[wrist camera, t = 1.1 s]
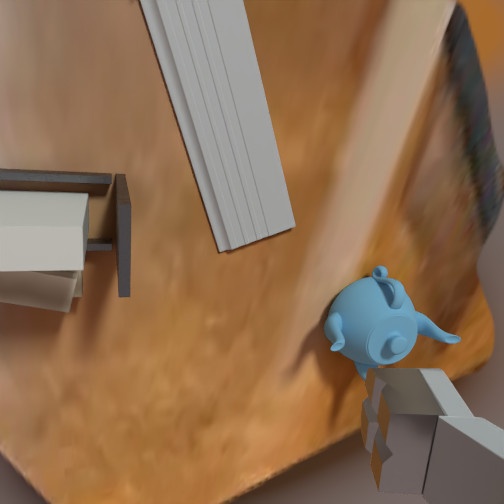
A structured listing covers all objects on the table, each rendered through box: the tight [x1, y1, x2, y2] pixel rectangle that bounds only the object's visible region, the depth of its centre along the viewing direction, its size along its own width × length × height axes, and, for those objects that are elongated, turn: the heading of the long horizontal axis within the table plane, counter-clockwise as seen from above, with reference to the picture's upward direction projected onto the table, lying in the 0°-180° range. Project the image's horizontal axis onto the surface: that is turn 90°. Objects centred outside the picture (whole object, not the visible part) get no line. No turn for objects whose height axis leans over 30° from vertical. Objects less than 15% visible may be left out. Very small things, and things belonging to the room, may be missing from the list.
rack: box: [0, 169, 131, 297], centre depth 44 cm, size 9×18×15 cm, turn 85°
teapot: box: [324, 266, 461, 381], centre depth 64 cm, size 15×15×10 cm
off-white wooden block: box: [0, 190, 89, 271], centre depth 44 cm, size 4×12×14 cm, turn 85°
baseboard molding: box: [140, 0, 295, 252], centre depth 53 cm, size 31×3×12 cm
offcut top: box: [0, 270, 78, 313], centre depth 49 cm, size 4×9×2 cm, turn 72°
